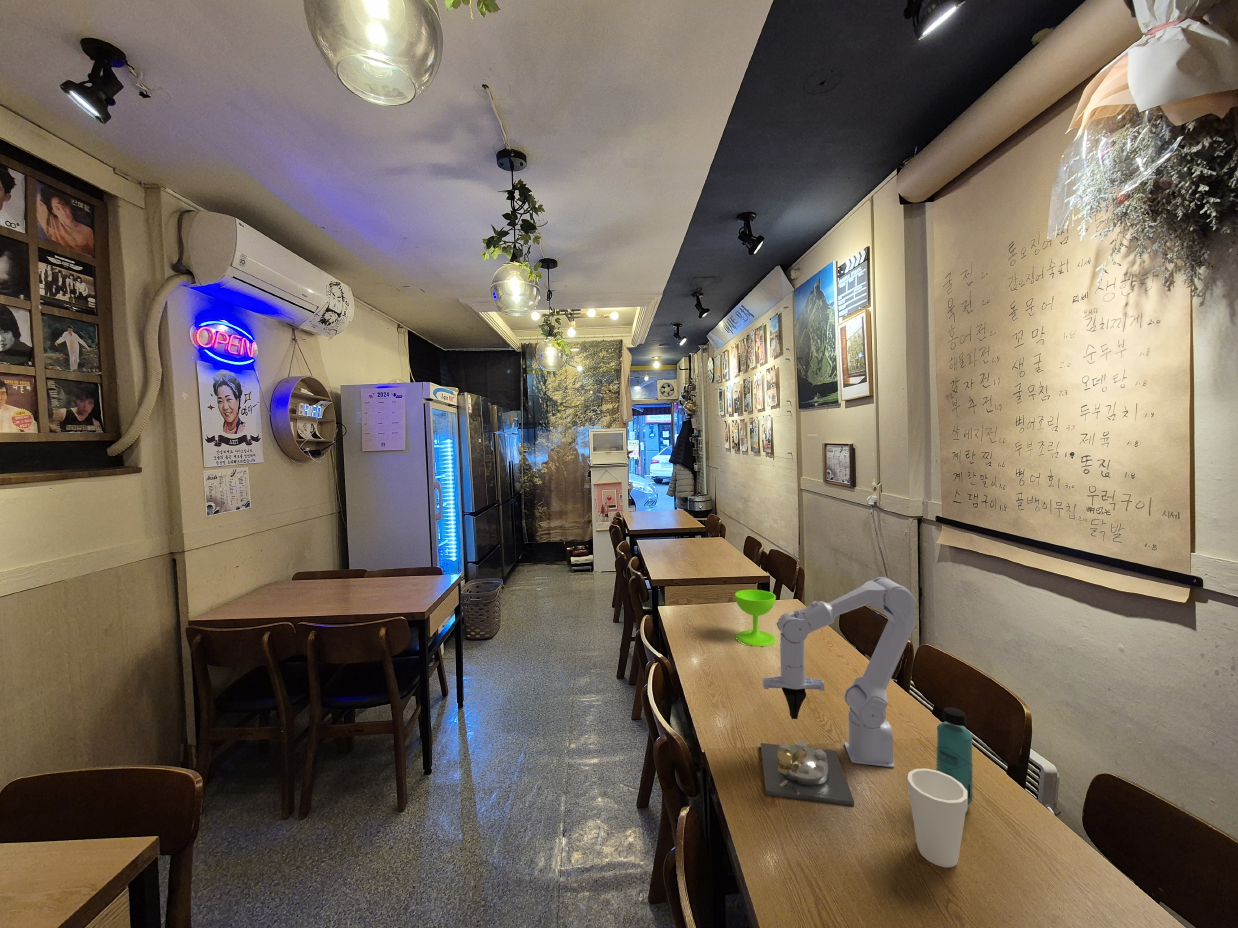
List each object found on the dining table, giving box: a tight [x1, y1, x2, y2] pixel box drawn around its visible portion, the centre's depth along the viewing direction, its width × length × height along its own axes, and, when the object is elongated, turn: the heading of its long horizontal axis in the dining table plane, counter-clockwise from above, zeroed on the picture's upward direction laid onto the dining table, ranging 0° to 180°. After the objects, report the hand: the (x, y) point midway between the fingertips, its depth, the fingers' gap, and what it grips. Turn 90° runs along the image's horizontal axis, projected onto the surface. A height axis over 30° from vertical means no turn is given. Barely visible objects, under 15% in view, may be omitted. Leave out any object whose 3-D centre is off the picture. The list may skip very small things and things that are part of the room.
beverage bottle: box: [935, 706, 974, 806], centre depth 103 cm, size 6×7×20 cm
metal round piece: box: [778, 740, 828, 785], centre depth 112 cm, size 15×11×7 cm
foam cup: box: [906, 768, 969, 868], centre depth 90 cm, size 10×9×13 cm
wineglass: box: [734, 589, 777, 647], centre depth 196 cm, size 16×16×18 cm
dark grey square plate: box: [760, 742, 855, 807], centre depth 114 cm, size 18×18×1 cm
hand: (793, 716), depth 121 cm, fingers closed
